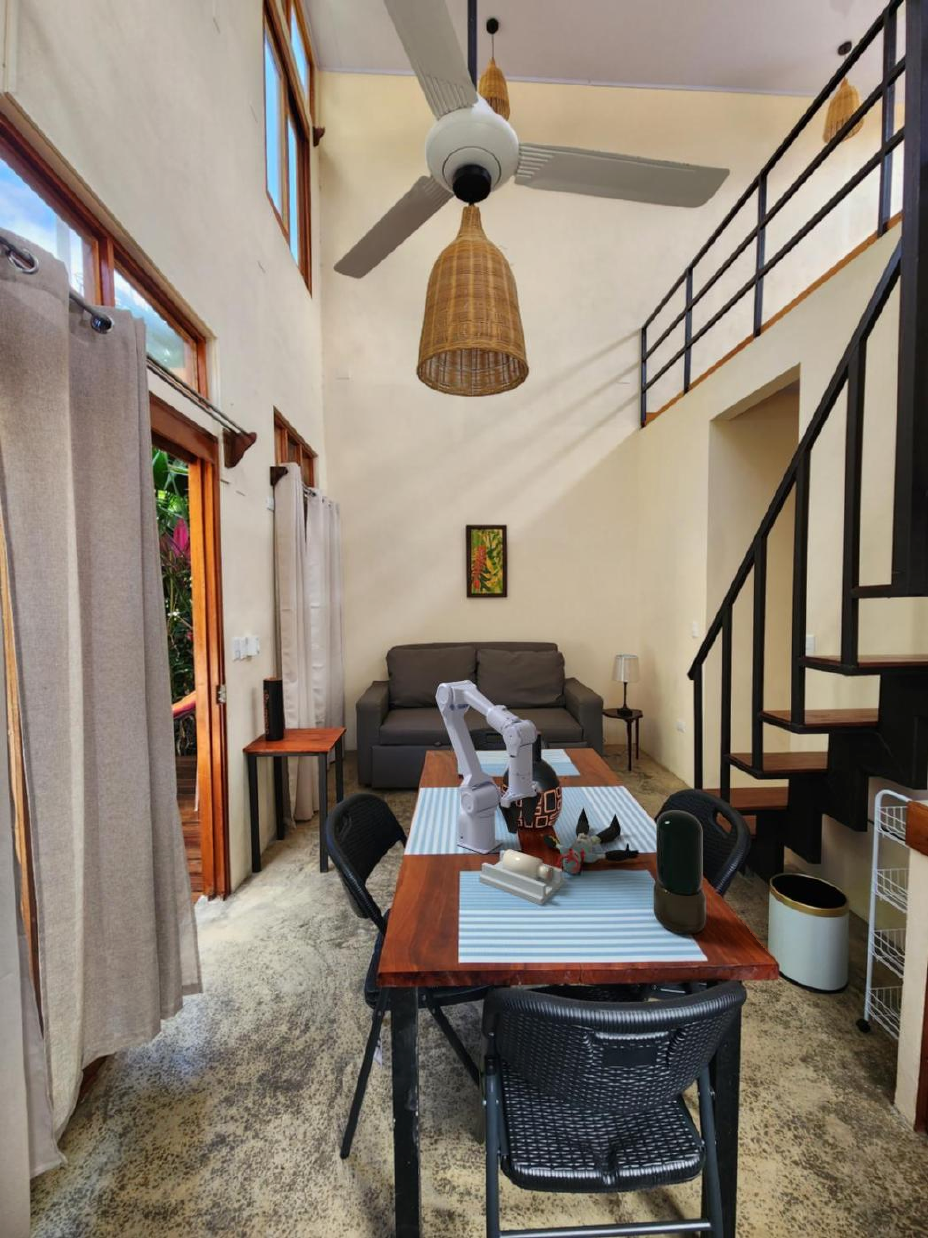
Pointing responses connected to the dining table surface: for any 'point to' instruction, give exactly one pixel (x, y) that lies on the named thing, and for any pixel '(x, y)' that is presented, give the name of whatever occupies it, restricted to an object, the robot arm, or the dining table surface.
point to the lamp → (679, 873)
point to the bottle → (526, 866)
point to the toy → (589, 846)
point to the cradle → (520, 882)
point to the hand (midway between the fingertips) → (520, 827)
